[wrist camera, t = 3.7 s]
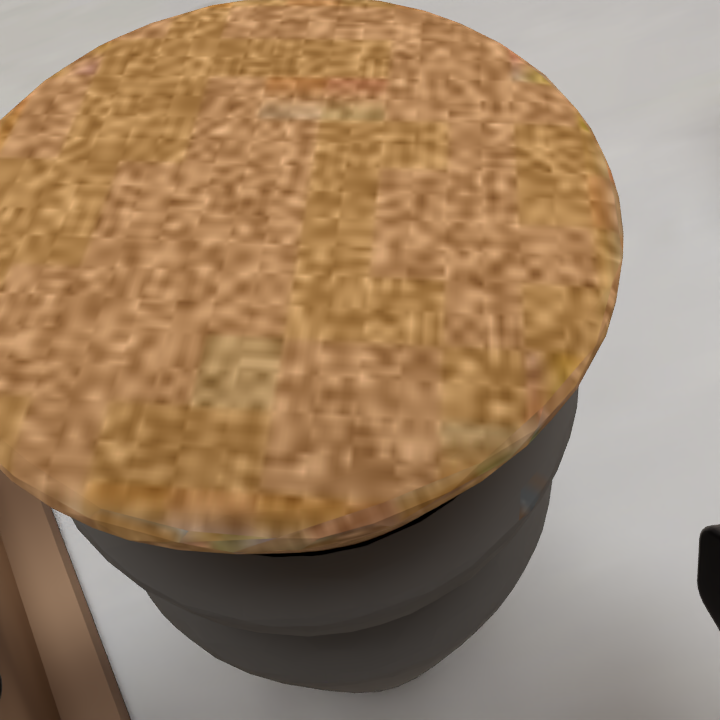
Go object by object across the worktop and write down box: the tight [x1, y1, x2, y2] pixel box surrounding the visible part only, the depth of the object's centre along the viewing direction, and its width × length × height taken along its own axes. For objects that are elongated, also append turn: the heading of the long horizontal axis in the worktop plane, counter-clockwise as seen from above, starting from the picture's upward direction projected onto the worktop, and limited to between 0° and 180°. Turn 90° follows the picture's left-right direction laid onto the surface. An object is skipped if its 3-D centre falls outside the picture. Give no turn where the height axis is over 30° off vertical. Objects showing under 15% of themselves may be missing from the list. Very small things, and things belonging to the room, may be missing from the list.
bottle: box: [0, 0, 623, 693], centre depth 11 cm, size 6×6×15 cm
